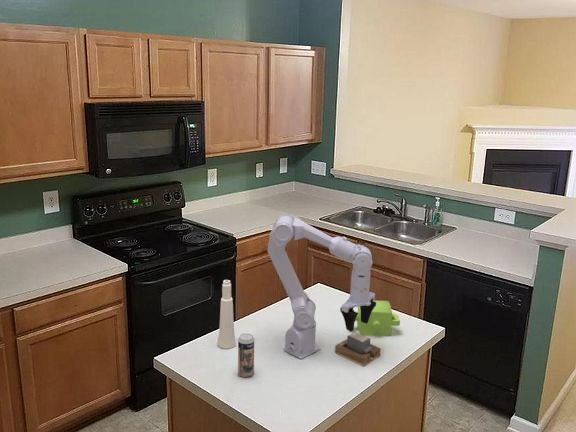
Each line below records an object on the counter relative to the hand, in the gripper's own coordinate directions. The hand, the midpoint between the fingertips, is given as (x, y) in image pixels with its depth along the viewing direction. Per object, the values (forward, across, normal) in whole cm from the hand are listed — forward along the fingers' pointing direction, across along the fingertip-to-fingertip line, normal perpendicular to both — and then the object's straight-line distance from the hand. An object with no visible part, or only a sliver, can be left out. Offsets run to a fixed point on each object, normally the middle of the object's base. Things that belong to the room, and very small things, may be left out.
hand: (357, 326), depth 169 cm
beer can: (+10, -33, +15) cm, 38 cm away
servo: (+9, 0, -1) cm, 9 cm away
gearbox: (+10, +16, +5) cm, 20 cm away
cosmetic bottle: (+10, -26, +32) cm, 42 cm away
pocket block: (+9, 0, -1) cm, 9 cm away
